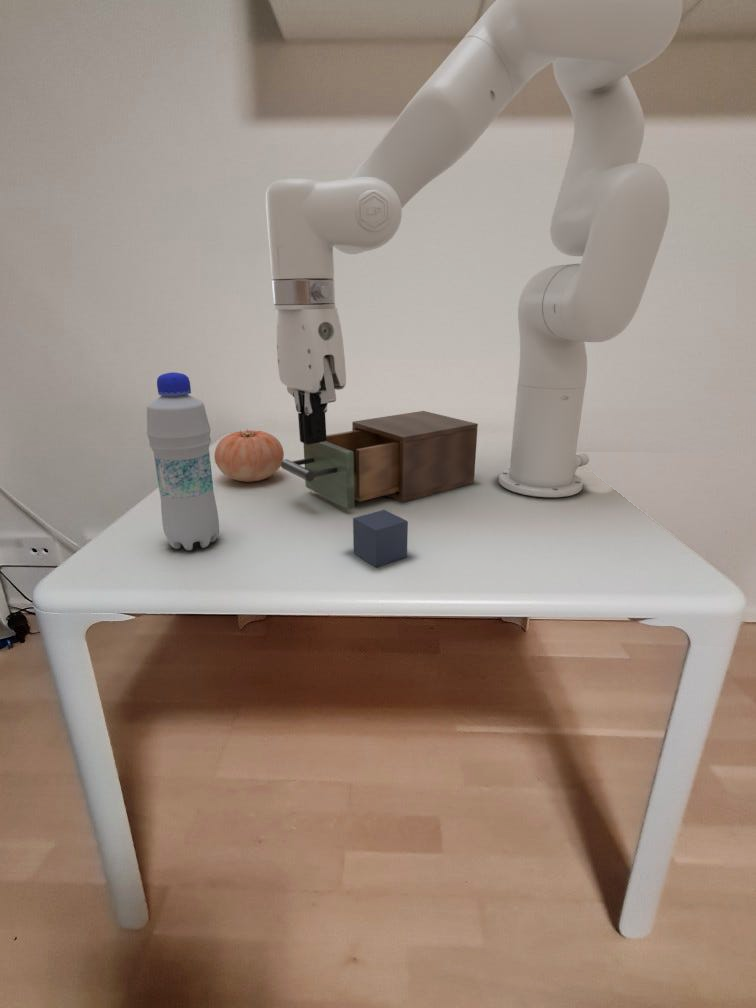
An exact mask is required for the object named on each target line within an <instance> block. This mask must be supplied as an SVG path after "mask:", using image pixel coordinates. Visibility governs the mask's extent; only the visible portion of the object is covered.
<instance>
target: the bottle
mask: <svg viewBox="0 0 756 1008" xmlns="http://www.w3.org/2000/svg"><path fill="white" fill-rule="evenodd" d="M156 388H157V393H158V396H159V397H157V398H156V399H154V400H152V401H151V402H149V403H148V404H147V405H146V436H147V438H148V441H149V443H148V446H149V447H150V449H151V450H152V452H153V458H154V464H155V465H154V466H155V471H156V478H157V484H158V490H159V491H158V492H159V496H160V509H161V523H162V529H163V533H164V535H165V537H166V540H167V542H168V544H169V545H170V546H171V547H172V548H173V549H176V550H177V549H181V547H182V546H183V549H185V551H192V550H193V548H194V543H196V542H199V546H200V547H201V548H203V549H204V548H207V547H208V546H209V545H210V543H214V542H215V541H216V540H217V539H218V537H219V533H220V521H219V520H220V519H219V512H218V506H217V502H216V496H215V491H214V481H213V480H214V479H213V472H212V464H211V454H210V445H211V441H212V438H211V430H212V429H211V426H210V423H209V418H208V415H207V410H206V407H205V404H204V402H203V401H202V400H201V399H198V398H196V397H194V396H191V395H190V394H192V388H191V381H190V378H189V376H188V375H186V374H185V373H182V372H181V373H180V372H175V371H174V372H172V371H171V372H167V373H162V374H160V375H159V376H158V377H157V379H156Z"/></svg>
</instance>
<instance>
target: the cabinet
mask: <svg viewBox="0 0 756 1008" xmlns="http://www.w3.org/2000/svg"><path fill="white" fill-rule="evenodd" d="M351 423H352V425H351V426H352V428H351V429H352V430H351V431H355V430H361V429H362V430H365V431H368V432H371V433H374V434H378V435H381V436H384V437H387V438H390V439H393V440H396V441H400V468H399V492H395V493H391V494H387V495H386V496H387V497H389V498H391V499H393V500H395V501H398V502H400V503H405V502H409V501H413V500H418V499H421V498H425V497H428V496H429V497H430V496H432V495H436V494H440V493H443V492H446V491H451V490H454V489H458V488H462V487H466V486H470V485H473V484H475V473H476V471H475V470H476V457H477V441H478V426H479V424H478V423H477V422H472V421H468V420H464V419H460V418H457V417H456V418H455V417H451V416H446V415H444V414H443V415H442V414H438V413H434V412H430V411H427V410H420V411H413V412H407V413H400V414H393V415H387V416H380V417H374V418H367V419H360V420H355V421H352V422H351Z"/></svg>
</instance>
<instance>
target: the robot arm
mask: <svg viewBox="0 0 756 1008" xmlns="http://www.w3.org/2000/svg"><path fill="white" fill-rule="evenodd" d="M683 3H684V2H683V0H495V1H493V3H492V4H491V5H490V6H489V7H488V8H487V9H486V10H485V12H484V13H483V14H482V16H481V17H480V18H479V19H478V20H477V21H476V22H475V23H474V24H473V26H472V27H471V29H469V31H468V32H467V33H466V34H465V35H464V36H463V37H462V39H461V40H460V41H459V43H458V44H457V45H456V46H455V47H454V48H453V50H451V52H450V53H449V54H448V56H447V57H446V58H445V59H444V60H443V61H442V63H441V64H440V65H439V66H438V67H437V69H436V70H435V71H434V72H433V73H432V74H431V75H430V76H429V78H428V79H427V80H426V82H425V83H423V85H422V86H421V87H420V88H419V89H418V91H417V92H416V93H415V94H414V96H413V97H412V98H411V100H409V102H408V103H407V104H406V106H405V107H404V108H403V110H402V111H401V112H400V114H399V115H398V116H397V118H396V120H395V121H394V123H393V124H392V125H391V127H390V128H389V129H388V130H387V132H386V133H385V135H383V137H382V138H381V139H380V141H378V143H377V144H376V145H375V147H374V148H373V149H372V150H371V151H370V152H369V154H368V155H367V156H366V157H365V158H364V160H363V161H362V162H361V163H360V164H359V165H358V167H357V168H356V169H355V170H354V171H353V172H352V174H351V175H350V176H349V177H348V178H344V179H343V178H342V179H335V180H325V181H324V180H322V181H319V180H316V179H313V178H312V179H311V178H301V177H299V178H298V177H297V178H295V177H293V178H282V179H277V180H274V181H273V182H270V184H268V186H267V188H266V190H265V195H264V196H265V211H266V224H267V233H268V234H267V235H268V247H269V249H268V250H269V259H270V271H271V280H272V281H271V285H272V296H273V297H272V298H273V308H274V310H275V311H276V353H277V354H276V355H277V367H278V368H277V369H278V375H279V380H280V382H281V383H282V384H283V385H284V386H286V390H287V393H288V394H289V395H291V396H292V397H293V398H294V404H295V410H296V412H297V417H298V418H297V419H298V431H299V441H300V443H303V444H304V443H305V444H307V445H309V444H314V443H320V442H324V441H326V435H327V424H326V420H327V419H326V414H327V411H328V404H329V403H335V402H336V401H337V395H336V390H337V391H338V390H343V389H345V387H346V385H347V372H346V370H347V369H346V360H345V359H346V357H345V348H344V339H343V331H342V325H341V321H340V316H339V312H338V309H337V308H336V292H335V290H336V289H335V266H334V248H335V249H336V250H338V251H339V252H341V253H344V254H346V255H347V254H348V255H358V254H363V253H365V252H369V251H373V250H376V249H378V248H381V247H383V246H385V245H386V244H388V243H389V242H390V241H391V240H392V239H393V238H394V236H395V235H396V234H397V232H398V230H399V227H400V225H401V221H402V215H403V214H402V213H403V212H402V209H403V208H404V207H405V206H406V205H407V204H408V203H409V202H410V201H411V200H412V199H413V198H414V197H415V196H416V195H417V194H418V193H419V192H420V191H421V190H422V189H423V188H424V187H426V186H427V185H428V184H429V183H431V182H432V181H433V180H434V179H436V178H437V177H439V176H440V175H442V174H443V173H444V172H445V171H447V170H449V168H451V167H453V165H454V164H456V163H457V162H458V161H459V160H460V159H461V158H463V156H464V155H465V154H467V153H468V151H470V149H471V148H472V147H473V146H474V145H475V143H477V141H478V140H479V139H480V137H482V135H483V134H484V133H485V132H486V130H487V129H488V128H489V127H490V126H491V125H492V123H493V122H495V120H496V119H497V118H498V116H500V114H501V113H502V112H503V111H504V109H505V108H506V107H507V106H508V105H509V104H510V103H511V102H512V101H513V100H514V99H515V98H516V96H518V94H519V93H520V92H521V90H522V89H523V88H524V87H525V86H526V85H527V84H528V83H529V82H530V80H531V79H532V78H533V77H534V76H536V75H537V74H538V73H539V72H540V71H542V70H543V69H545V68H546V67H548V66H549V65H551V64H552V71H553V76H554V78H555V81H556V84H557V87H558V88H559V90H560V91H561V93H562V95H563V96H564V98H565V100H566V102H567V104H568V107H569V109H570V112H571V116H572V120H573V137H572V138H573V139H572V144H571V149H570V153H569V157H568V160H567V163H566V167H565V170H564V175H563V178H562V181H561V185H560V188H559V192H558V195H557V199H556V202H555V205H554V208H553V211H552V217H551V221H550V228H549V229H550V230H549V231H550V238H551V242H552V244H553V246H554V247H555V249H556V250H557V251H558V252H560V253H561V254H564V255H566V256H570V257H581V260H580V263H569V264H560V265H559V264H558V265H553V266H549V267H546V268H545V269H544V268H543V269H542V270H540V271H539V272H537V273H535V274H534V275H533V276H532V277H531V278H530V279H529V280H528V281H527V282H526V284H525V285H524V287H523V289H522V291H521V294H520V296H519V301H518V308H517V319H518V332H519V364H518V365H519V366H518V377H517V387H516V396H515V397H516V398H515V407H514V408H515V409H514V420H513V431H512V439H511V453H510V463H509V468H506V469H504V470H502V471H501V472H500V473H499V475H498V484H500V485H501V487H503V488H504V489H506V490H508V491H510V492H513V493H517V494H520V495H524V496H529V497H536V498H564V497H570V496H574V495H576V494H578V493H580V492H581V491H582V490H583V484H584V481H583V479H582V478H581V477H580V476H578V475H576V470H577V469H578V468H580V467H583V466H586V465H588V464H589V463H590V458H589V456H588V454H586V453H580V454H577V448H578V442H579V434H580V426H581V418H582V412H583V404H584V397H585V396H584V395H585V389H586V386H587V385H586V384H587V376H588V356H587V349H586V344H585V343H603V342H607V341H610V340H612V339H614V338H616V337H617V336H619V335H620V334H622V332H623V331H625V330H626V328H628V326H629V325H630V323H631V322H632V320H633V319H634V316H635V315H636V313H637V311H638V309H639V307H640V304H641V301H642V298H643V296H644V293H645V290H646V287H647V285H648V281H649V278H650V275H651V273H652V270H653V266H654V264H655V261H656V258H657V255H658V252H659V249H660V247H661V243H662V241H663V238H664V234H665V231H666V228H667V224H668V221H669V214H670V193H669V188H668V183H667V181H666V179H665V178H664V175H663V174H662V173H661V172H660V171H659V170H658V169H657V168H656V167H655V166H653V165H651V164H649V163H643V162H638V161H639V157H640V153H641V149H642V147H643V141H644V136H645V116H644V111H643V107H642V105H641V103H640V99H639V98H638V95H637V93H636V91H635V89H634V86H633V85H632V82H631V80H630V77H629V76H628V75H630V74H632V73H634V72H635V71H638V70H639V69H642V68H643V67H645V66H646V65H648V64H650V63H652V62H653V61H654V60H655V59H657V58H658V57H659V56H660V55H661V54H662V53H663V52H664V51H665V50H666V49H667V48H668V47H669V46H670V44H671V42H672V41H673V40H674V38H675V35H676V34H677V31H678V29H679V26H680V24H681V20H682V14H683Z"/></svg>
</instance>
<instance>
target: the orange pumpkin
mask: <svg viewBox="0 0 756 1008" xmlns="http://www.w3.org/2000/svg"><path fill="white" fill-rule="evenodd" d="M214 450H215V451H214V455H213V456H214V458H213V459H214V462H215V464H216V466H217V468H218V469H219V471H220V472H221V473H222V474H223V475H225V476H226V477H228V478H229V479H232V480H234V481H239V482H245V483H254V482H259V481H263V480H265V479H269V478H270V477H272V476H273V475H274V474H276V473H277V472H278V471H279V470H280V468H281V462H282V461H283V460H284V457H285V456H284V455H285V452H284V448H283V445H282V444H281V442H280V440H279V439H278V438H277V437H276V436H275V435H273V434H270V433H268V432H266V431H262V430H248V429H246V430H242V431H241V429H240V430H239V431H235V432H231V433H229V434H227V435H225V436H224V437H222V438H221V439H220V440H219V441H218V443H217V445H216V447H215V449H214Z"/></svg>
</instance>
